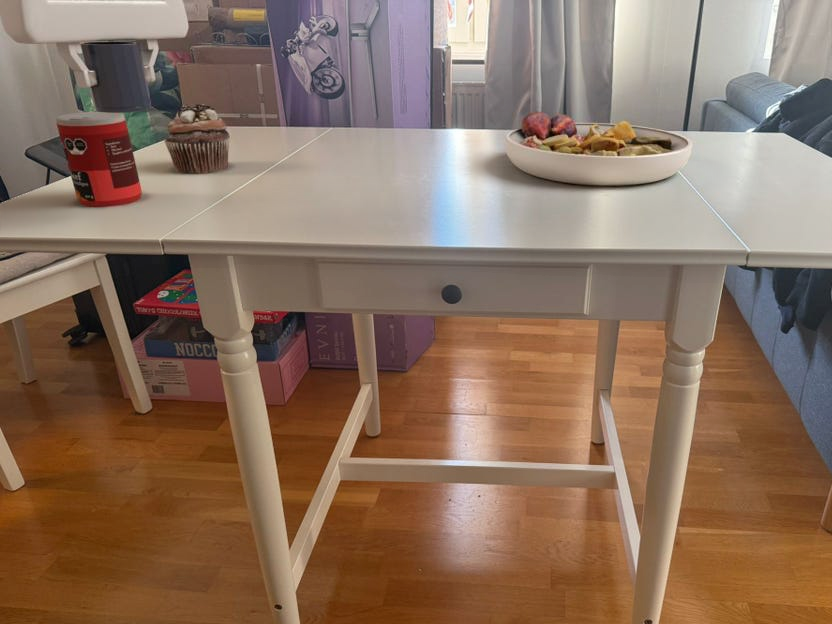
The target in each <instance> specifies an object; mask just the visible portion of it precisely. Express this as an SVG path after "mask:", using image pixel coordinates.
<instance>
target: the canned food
mask: <svg viewBox="0 0 832 624" xmlns="http://www.w3.org/2000/svg"><path fill="white" fill-rule="evenodd" d="M55 121H56V122H55V123H56V127H57V130H58V131H57V132H58V135H59V139H60V142H61V145H62V149H63V153H64V156H65V160H66V163H67V168H68V171H69V174H70V177H71V181H72V185H73V187H74V190H75V191H74V192H75V195H76V199H77V200H78V202H79V203H80V205H82V206H84V207H90V208H106V207H107V208H108V207H109V208H110V207H118V206H123V205H128V204H133V203H136V202H138V201H139V200H141V198H142V195H143V194H142V192H143V191H142V186H141V181H140V177H139V173H138V168H137V164H136V163H137V162H136V159H135V154H134V149H133V146H132V142H131V138H130V133H129V128H128V124H127V120H126V118H125V114H124V113H106V112H98V111H84V112H74V113H67V114H62V115H59V116H57V117H55Z"/></svg>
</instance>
